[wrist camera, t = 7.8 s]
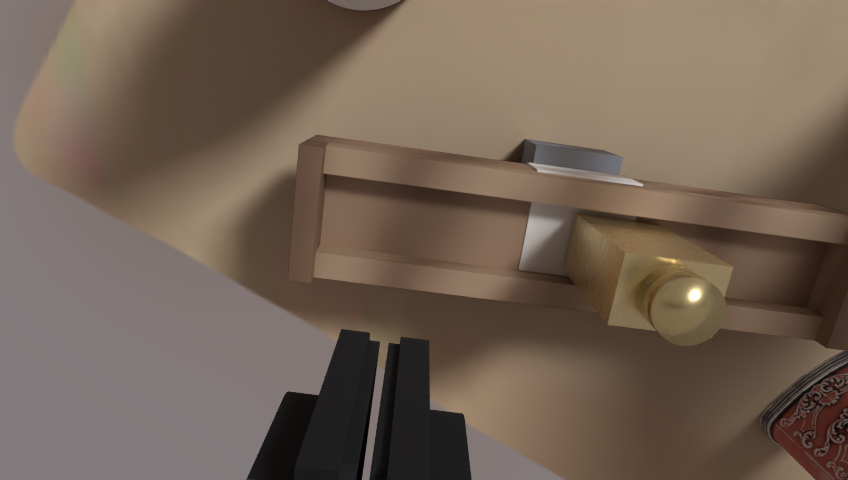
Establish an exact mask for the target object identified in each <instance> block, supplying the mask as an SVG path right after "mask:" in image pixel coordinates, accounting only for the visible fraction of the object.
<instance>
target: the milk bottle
mask: <svg viewBox="0 0 848 480" xmlns="http://www.w3.org/2000/svg"><path fill="white" fill-rule="evenodd" d="M328 1H329V2H331V3H333V4H336V5H338V6H341V7H344V8H348V9H352V10H376V9H381V8H385V7H388V6H390V5H393V4H395V3H397V2H399V1H401V0H328Z"/></svg>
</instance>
